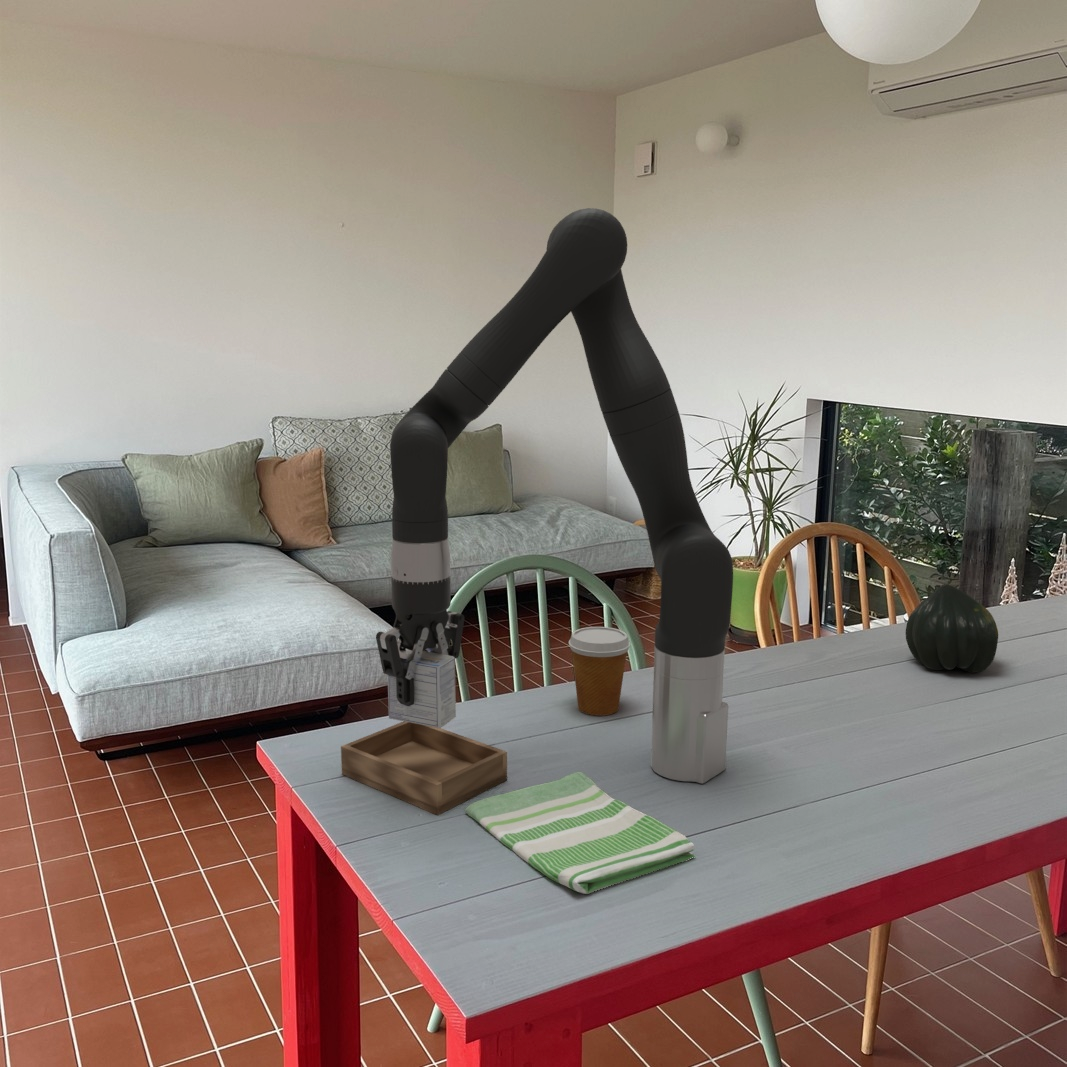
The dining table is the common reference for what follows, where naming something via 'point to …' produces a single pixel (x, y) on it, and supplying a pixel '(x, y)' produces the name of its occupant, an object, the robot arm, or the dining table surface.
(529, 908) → the dining table surface
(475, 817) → the dish towel
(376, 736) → the tray
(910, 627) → the squash
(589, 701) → the disposable coffee cup
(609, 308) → the robot arm
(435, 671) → the medicine box
